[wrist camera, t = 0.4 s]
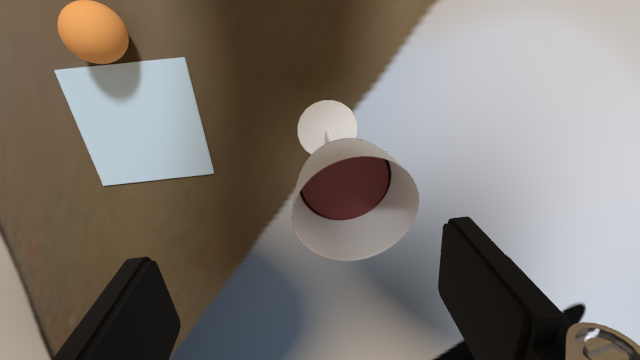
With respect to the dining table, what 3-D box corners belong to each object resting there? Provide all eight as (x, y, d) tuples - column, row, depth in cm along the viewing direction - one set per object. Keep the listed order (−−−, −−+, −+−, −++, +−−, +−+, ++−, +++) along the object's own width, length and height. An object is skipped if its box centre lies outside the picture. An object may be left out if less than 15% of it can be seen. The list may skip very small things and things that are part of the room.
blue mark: (55, 69, 34) (54, 70, 34) (185, 57, 35) (184, 57, 34) (104, 185, 40) (103, 185, 40) (214, 172, 41) (214, 173, 40)
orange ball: (72, 5, 32) (29, 0, 27) (128, 0, 32) (96, -6, 27) (93, 64, 34) (58, 69, 29) (145, 59, 34) (120, 63, 29)
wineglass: (371, 142, 40) (433, 230, 22) (310, 171, 41) (323, 277, 23) (346, 84, 37) (395, 133, 19) (281, 118, 38) (269, 193, 20)
